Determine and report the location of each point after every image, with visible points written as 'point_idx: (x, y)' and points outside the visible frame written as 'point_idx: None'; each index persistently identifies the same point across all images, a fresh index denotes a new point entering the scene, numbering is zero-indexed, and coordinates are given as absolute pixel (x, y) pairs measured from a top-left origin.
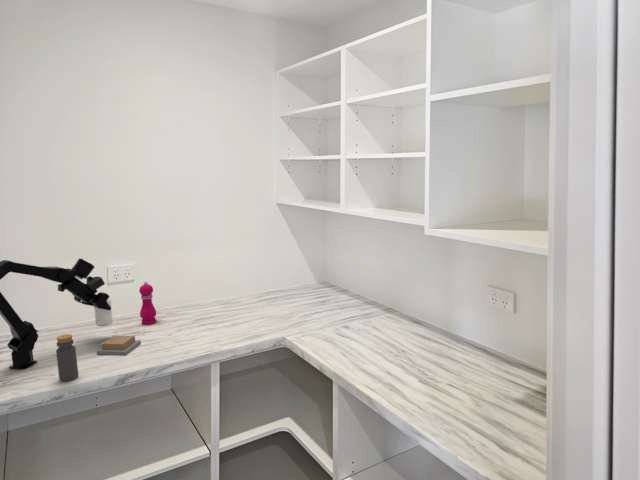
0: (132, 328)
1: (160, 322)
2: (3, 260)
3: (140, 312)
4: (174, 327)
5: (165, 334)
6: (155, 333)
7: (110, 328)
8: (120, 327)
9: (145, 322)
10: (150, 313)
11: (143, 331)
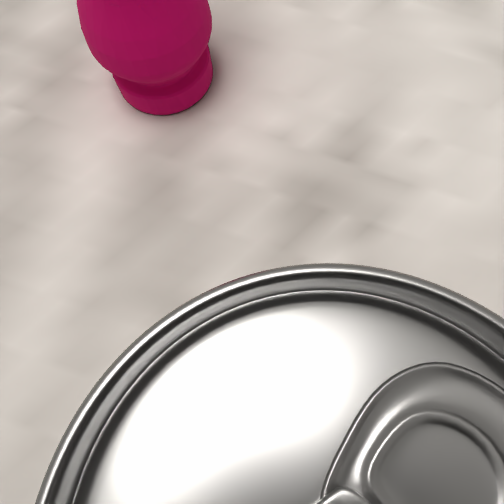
0: (194, 192)
1: (220, 26)
2: None
3: (128, 51)
4: (388, 2)
5: (493, 81)
6: (426, 118)
7: (55, 312)
8: (98, 247)
9: (192, 92)
10: (205, 7)
11: (322, 159)
